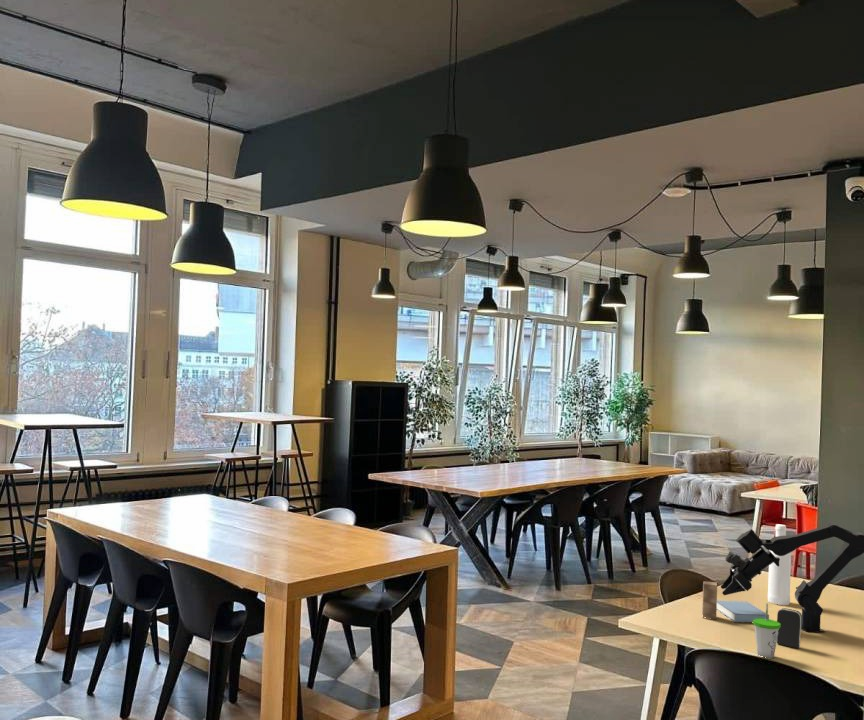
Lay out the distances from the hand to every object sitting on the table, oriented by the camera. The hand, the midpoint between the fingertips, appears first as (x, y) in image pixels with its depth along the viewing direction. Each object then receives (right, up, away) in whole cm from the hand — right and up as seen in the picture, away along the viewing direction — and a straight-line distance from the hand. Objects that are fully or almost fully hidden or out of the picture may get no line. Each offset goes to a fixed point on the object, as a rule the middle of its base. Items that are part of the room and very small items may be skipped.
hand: (722, 591), depth 275 cm
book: (+8, -10, +4) cm, 14 cm away
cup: (-1, -8, -39) cm, 40 cm away
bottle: (+31, -12, +26) cm, 42 cm away
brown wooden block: (-4, -10, +1) cm, 11 cm away
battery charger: (+11, -9, -27) cm, 31 cm away
